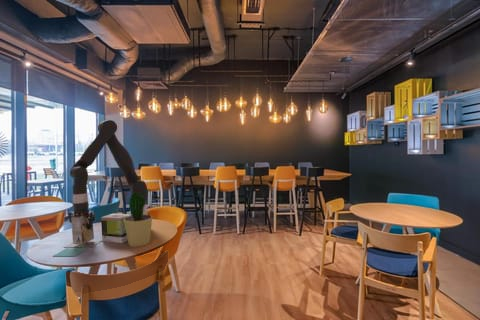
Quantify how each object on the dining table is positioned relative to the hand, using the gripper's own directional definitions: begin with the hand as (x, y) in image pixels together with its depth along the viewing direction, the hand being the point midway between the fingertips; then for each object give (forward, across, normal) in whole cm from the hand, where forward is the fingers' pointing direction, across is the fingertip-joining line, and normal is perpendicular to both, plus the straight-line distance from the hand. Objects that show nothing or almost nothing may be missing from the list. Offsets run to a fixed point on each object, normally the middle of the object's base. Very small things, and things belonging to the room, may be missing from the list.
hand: (82, 229), depth 153 cm
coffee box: (+7, 0, 0) cm, 7 cm away
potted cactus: (+9, -32, -1) cm, 34 cm away
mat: (+8, -1, +12) cm, 15 cm away
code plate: (+8, 0, 0) cm, 8 cm away
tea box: (+9, -17, -7) cm, 20 cm away
